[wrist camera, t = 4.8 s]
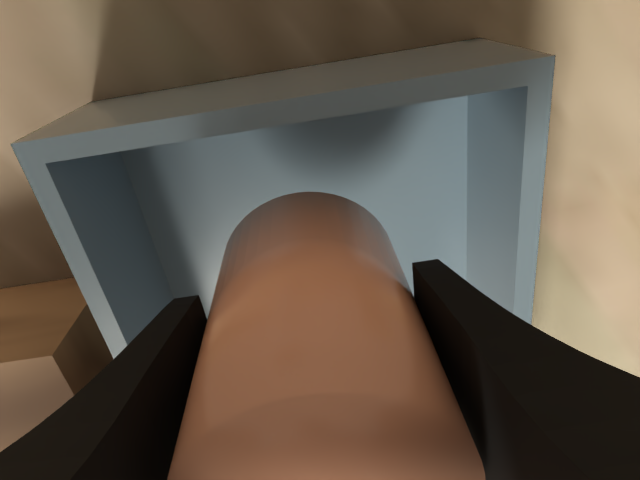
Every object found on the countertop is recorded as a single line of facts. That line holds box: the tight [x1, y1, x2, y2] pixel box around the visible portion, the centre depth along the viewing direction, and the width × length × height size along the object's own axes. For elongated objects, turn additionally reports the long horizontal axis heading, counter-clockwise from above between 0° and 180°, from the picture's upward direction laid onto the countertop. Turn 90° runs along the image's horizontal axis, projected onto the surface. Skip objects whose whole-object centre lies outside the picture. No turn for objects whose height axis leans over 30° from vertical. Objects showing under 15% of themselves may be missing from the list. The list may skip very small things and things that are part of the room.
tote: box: [11, 38, 555, 359], centre depth 17 cm, size 17×13×5 cm
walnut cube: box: [0, 277, 113, 452], centre depth 18 cm, size 5×5×5 cm
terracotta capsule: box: [167, 192, 485, 480], centre depth 10 cm, size 5×5×7 cm
